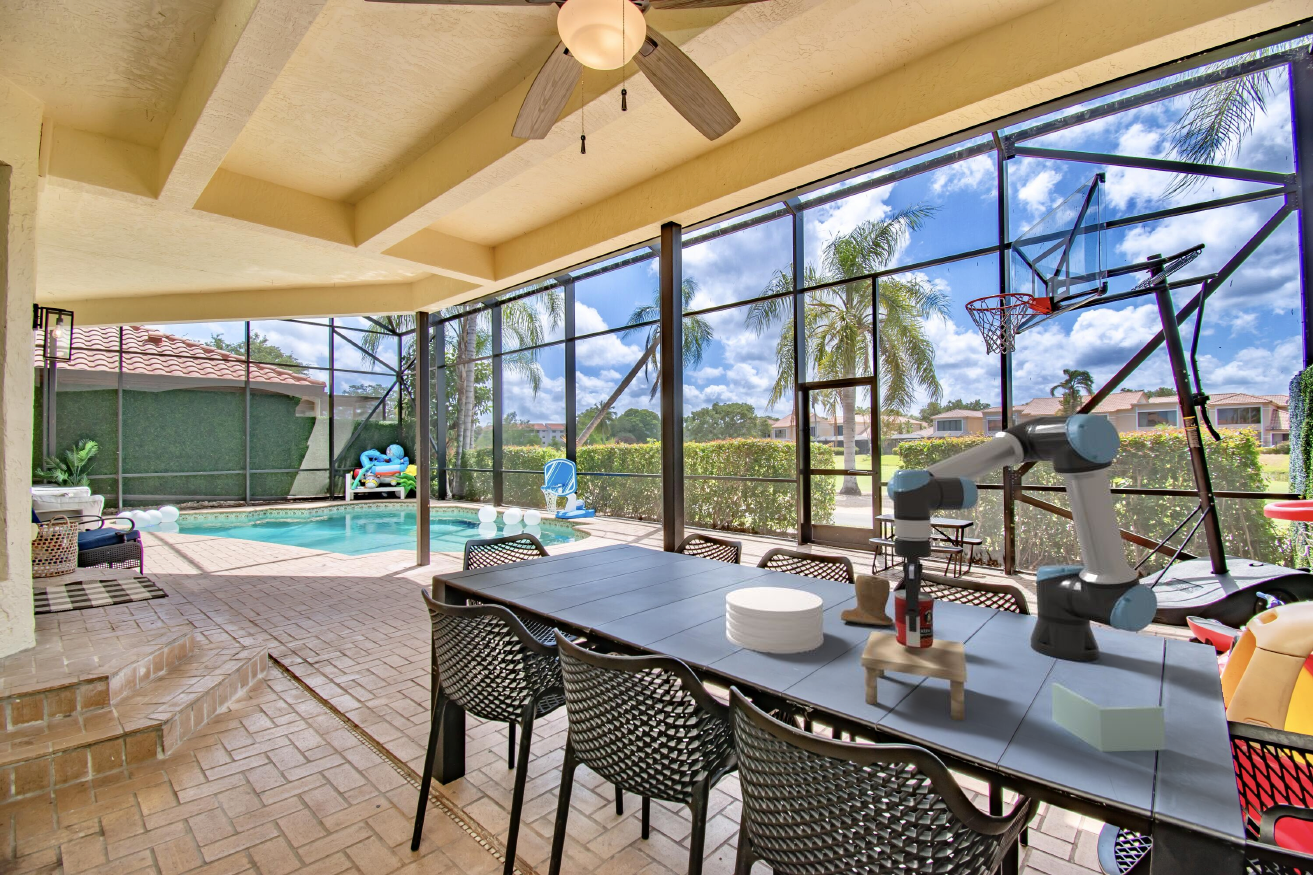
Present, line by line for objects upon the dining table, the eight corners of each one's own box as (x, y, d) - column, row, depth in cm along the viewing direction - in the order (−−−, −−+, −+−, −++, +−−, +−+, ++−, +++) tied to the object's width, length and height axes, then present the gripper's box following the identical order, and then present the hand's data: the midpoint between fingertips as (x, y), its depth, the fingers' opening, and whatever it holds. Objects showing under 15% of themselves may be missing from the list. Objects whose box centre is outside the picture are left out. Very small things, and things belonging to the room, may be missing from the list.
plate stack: (834, 632, 172) (834, 594, 173) (805, 661, 149) (805, 616, 149) (748, 618, 187) (748, 583, 188) (710, 642, 164) (709, 602, 164)
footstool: (964, 686, 132) (963, 642, 132) (967, 723, 114) (966, 672, 114) (872, 671, 141) (871, 630, 141) (862, 703, 123) (861, 656, 123)
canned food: (918, 651, 122) (917, 599, 123) (887, 640, 129) (886, 591, 130) (941, 645, 126) (940, 595, 126) (910, 635, 133) (909, 588, 133)
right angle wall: (1165, 749, 103) (1163, 707, 104) (1101, 751, 103) (1100, 709, 103) (1109, 718, 115) (1108, 681, 116) (1052, 720, 115) (1051, 682, 115)
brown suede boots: (893, 619, 184) (892, 573, 184) (892, 630, 173) (891, 580, 174) (844, 614, 190) (843, 569, 191) (840, 624, 179) (839, 576, 180)
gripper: (897, 531, 139) (899, 624, 139) (890, 543, 121) (892, 651, 120) (931, 532, 136) (933, 629, 135) (929, 545, 117) (931, 657, 117)
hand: (914, 639), depth 128 cm, fingers closed on canned food, 8 cm apart
